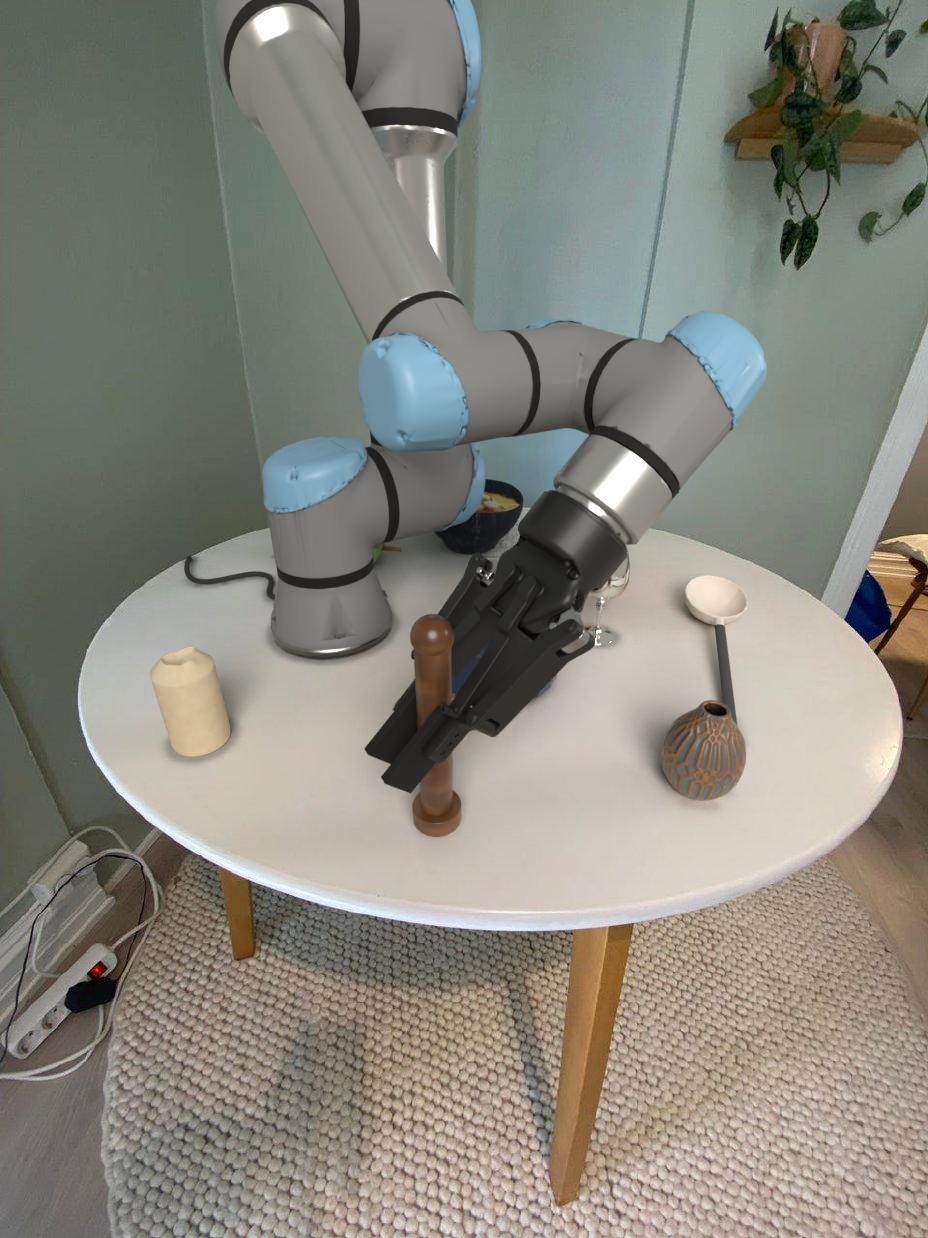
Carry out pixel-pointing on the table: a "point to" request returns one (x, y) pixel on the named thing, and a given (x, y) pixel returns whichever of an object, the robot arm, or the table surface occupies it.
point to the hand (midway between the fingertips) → (387, 770)
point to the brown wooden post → (433, 686)
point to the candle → (191, 701)
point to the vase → (704, 752)
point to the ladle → (718, 620)
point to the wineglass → (607, 592)
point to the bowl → (486, 520)
